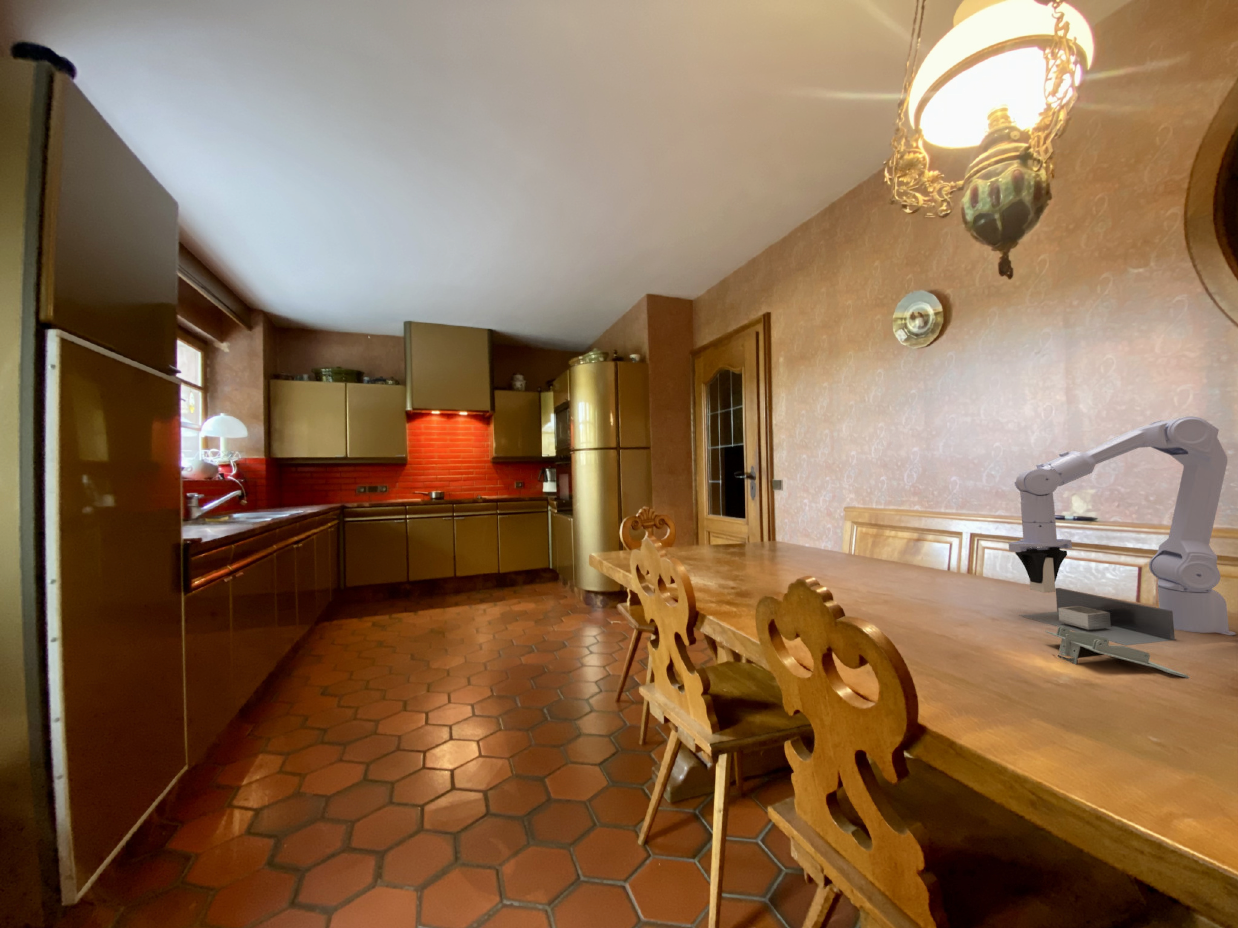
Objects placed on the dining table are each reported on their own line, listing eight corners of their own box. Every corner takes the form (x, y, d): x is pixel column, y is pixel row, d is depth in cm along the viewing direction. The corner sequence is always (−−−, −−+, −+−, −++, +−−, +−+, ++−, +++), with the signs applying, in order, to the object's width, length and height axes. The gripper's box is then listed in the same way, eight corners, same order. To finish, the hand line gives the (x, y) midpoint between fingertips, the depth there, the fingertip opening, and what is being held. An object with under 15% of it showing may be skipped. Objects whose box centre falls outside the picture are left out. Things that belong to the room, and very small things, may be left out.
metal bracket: (1106, 644, 77) (1033, 617, 92) (1098, 678, 77) (1026, 645, 91) (1200, 668, 75) (1110, 637, 90) (1192, 703, 75) (1103, 666, 90)
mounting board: (1063, 615, 109) (1062, 611, 109) (1177, 644, 89) (1176, 639, 89) (1019, 619, 107) (1018, 615, 107) (1125, 650, 87) (1125, 645, 87)
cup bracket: (1060, 611, 109) (1059, 587, 109) (1174, 639, 89) (1172, 610, 89) (1025, 614, 107) (1023, 590, 107) (1133, 644, 87) (1130, 614, 88)
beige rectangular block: (1041, 588, 107) (1039, 556, 107) (1055, 591, 104) (1052, 558, 104) (1030, 589, 107) (1028, 556, 107) (1044, 592, 104) (1041, 558, 104)
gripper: (1046, 518, 111) (1051, 576, 110) (994, 522, 109) (998, 580, 108) (1080, 521, 104) (1084, 582, 103) (1024, 524, 102) (1029, 587, 101)
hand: (1042, 581), depth 105 cm, fingers closed on beige rectangular block, 3 cm apart
